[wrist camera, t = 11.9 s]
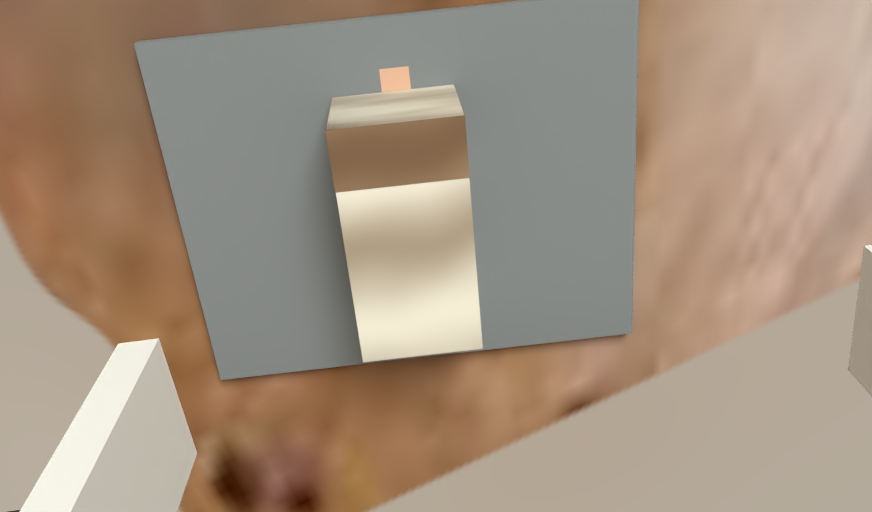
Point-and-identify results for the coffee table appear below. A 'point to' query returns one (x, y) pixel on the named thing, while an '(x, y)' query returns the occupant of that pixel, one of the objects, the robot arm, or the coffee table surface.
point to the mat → (487, 153)
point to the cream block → (406, 220)
